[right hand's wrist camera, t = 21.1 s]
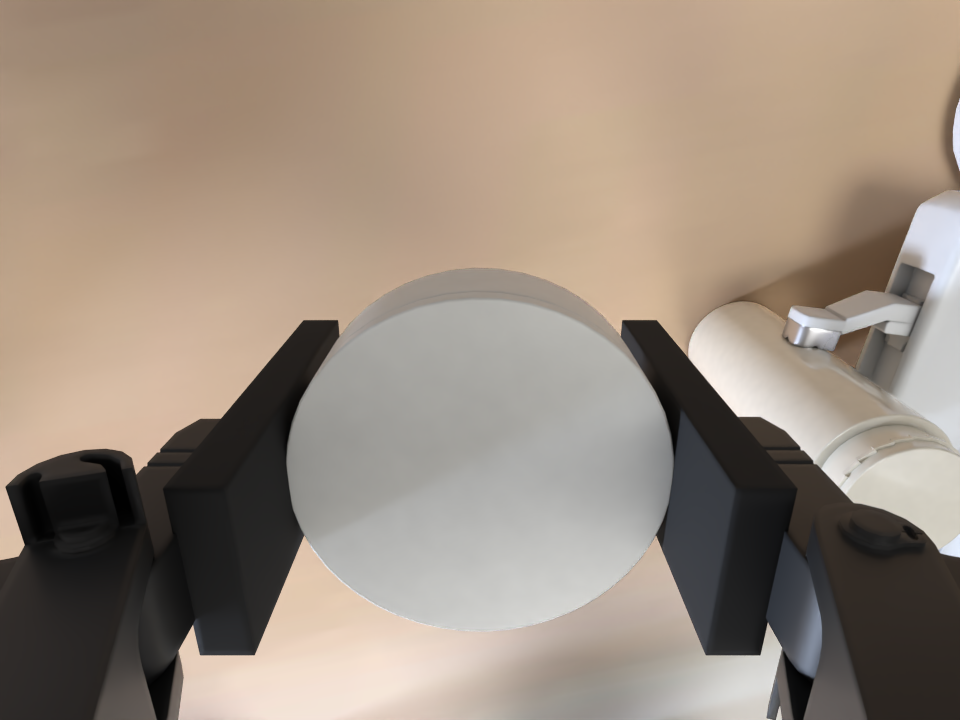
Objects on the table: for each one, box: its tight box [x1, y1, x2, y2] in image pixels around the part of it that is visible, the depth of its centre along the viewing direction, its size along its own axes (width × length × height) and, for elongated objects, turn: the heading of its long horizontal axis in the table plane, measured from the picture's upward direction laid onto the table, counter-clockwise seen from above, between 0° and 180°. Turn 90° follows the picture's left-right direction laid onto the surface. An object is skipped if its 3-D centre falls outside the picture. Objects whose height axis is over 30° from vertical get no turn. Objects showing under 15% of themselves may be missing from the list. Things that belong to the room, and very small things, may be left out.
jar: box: [688, 301, 960, 550], centre depth 28 cm, size 5×5×15 cm
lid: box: [286, 268, 674, 631], centre depth 11 cm, size 6×6×2 cm
